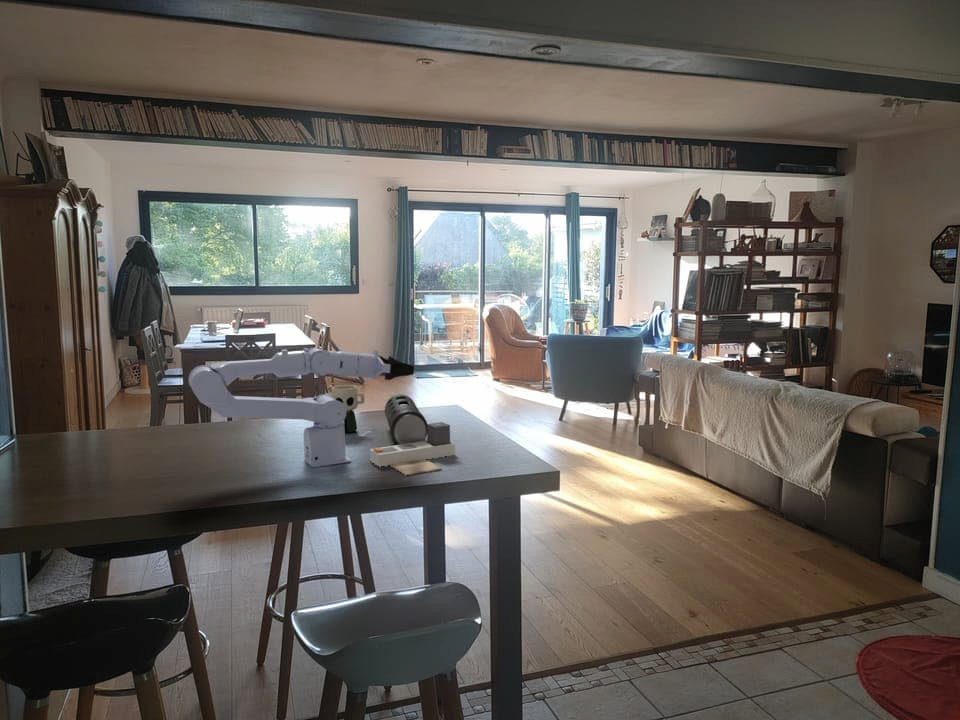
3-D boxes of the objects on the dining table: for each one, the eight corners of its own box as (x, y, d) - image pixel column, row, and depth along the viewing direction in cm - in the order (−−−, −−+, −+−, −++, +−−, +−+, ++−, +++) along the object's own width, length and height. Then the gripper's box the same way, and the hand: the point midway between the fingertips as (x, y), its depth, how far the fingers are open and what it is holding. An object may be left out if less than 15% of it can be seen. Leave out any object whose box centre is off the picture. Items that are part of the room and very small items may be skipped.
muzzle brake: (417, 427, 200) (416, 392, 199) (429, 451, 173) (428, 411, 172) (384, 429, 198) (383, 394, 197) (391, 454, 171) (390, 413, 170)
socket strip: (379, 467, 159) (378, 452, 159) (370, 461, 164) (369, 446, 164) (455, 455, 169) (455, 440, 168) (444, 449, 174) (444, 435, 174)
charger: (434, 449, 167) (434, 427, 166) (427, 445, 171) (427, 423, 170) (450, 446, 169) (449, 424, 168) (442, 443, 173) (442, 421, 172)
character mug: (326, 435, 190) (324, 390, 189) (326, 430, 197) (324, 385, 196) (365, 433, 192) (364, 388, 191) (365, 428, 199) (363, 384, 198)
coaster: (405, 476, 152) (405, 474, 152) (390, 466, 160) (390, 464, 160) (441, 469, 157) (441, 468, 157) (424, 460, 164) (424, 459, 164)
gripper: (366, 349, 159) (420, 354, 165) (348, 346, 172) (399, 351, 178) (363, 379, 159) (417, 383, 165) (345, 374, 172) (396, 378, 178)
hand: (407, 369), depth 172 cm, fingers open, 7 cm apart
